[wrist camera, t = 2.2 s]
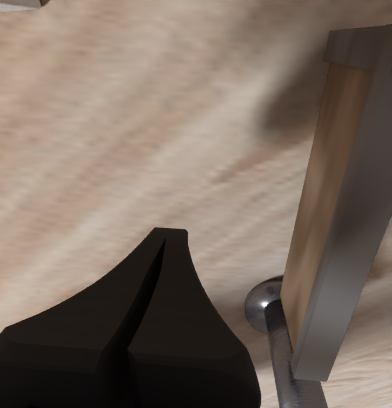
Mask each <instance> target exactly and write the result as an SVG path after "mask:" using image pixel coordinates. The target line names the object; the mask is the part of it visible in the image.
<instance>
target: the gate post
mask: <svg viewBox="0 0 392 408" xmlns="http://www.w3.org/2000/svg"><path fill="white" fill-rule="evenodd" d="M282 282H283V279H282V278H281V279H272V280H268V281H265V282H263V283H261V284H259V285H257V286H256V287H255V288H253V289H252V290H251V291H250V293H249V294H248V296H247V298H246V301H245V312H246V317H247V320H248V322H249V323H250V324H251V325H252V326H253V327H254V328H255V329H257V330H258V331H260V332H262V333H265V334H268V340H269V346H270V352H271V358H272V365H273V371H274V377H275V383H276V389H277V395H278V401H279V407H280V408H328V406H327V403H326V400H325V396H324V393H323V389H322V386H321V383H320V381H313V380H301V379H294V377H293V373H292V368H291V361H292V357H293V354H294V352H293V348H292V344H291V339H290V335H289V331H288V327H287V323H286V318H285V314H284V310H283V306H282V301H281V297H280V291H281V286H282Z"/></svg>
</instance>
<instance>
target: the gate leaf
mask: <svg viewBox="0 0 392 408" xmlns="http://www.w3.org/2000/svg"><path fill="white" fill-rule="evenodd" d="M324 61H326V62H331V63H330V67H329V72H328V76H327V81H326V86H325V90H324V95H323V99H322V104H321V108H320V113H319V117H318V122H317V127H316V131H315V136H314V140H313V145H312V149H311V154H310V158H309V163H308V168H307V172H306V177H305V181H304V186H303V190H302V195H301V200H300V204H299V209H298V213H297V218H296V222H295V227H294V231H293V236H292V241H291V245H290V250H289V254H288V259H287V263H286V268H285V272H284V277H283V282H282V286H281V291H280V297H281V301H282V306H283V310H284V314H285V318H286V323H287V327H288V331H289V335H290V339H291V344H292V348H293V352H294V354H293V357H292V361H291V368H292V373H293V377H294V379H301V380H313V381H324V382H327V380H328V377H329V374H330V372H331V369H332V367H333V364H334V361H335V359H336V356H337V354H338V351H339V349H340V346H341V343H342V341H343V338H344V336H345V333H346V331H347V328H348V325H349V323H350V320H351V318H352V315H353V312H354V310H355V307H356V305H357V302H358V300H359V297H360V294H361V292H362V289H363V287H364V284H365V282H366V279H367V276H368V274H369V271H370V269H371V266H372V263H373V261H374V258H375V256H376V253H377V251H378V248H379V245H380V243H381V240H382V238H383V235H384V233H385V230H386V227H387V225H388V222H389V220H390V217H391V214H392V24H390V25H385V26H375V27H365V28H354V29H344V30H334V31H330V32H329V37H328V42H327V47H326V51H325V56H324Z"/></svg>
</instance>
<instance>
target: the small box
mask: <svg viewBox="0 0 392 408" xmlns="http://www.w3.org/2000/svg"><path fill="white" fill-rule="evenodd" d="M40 8H41V4H40V1H39V0H0V12H5V11H18V10H33V9H40Z"/></svg>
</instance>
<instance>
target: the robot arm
mask: <svg viewBox="0 0 392 408" xmlns="http://www.w3.org/2000/svg"><path fill="white" fill-rule="evenodd" d="M260 406H261V391H260V387H259V382H258V378H257V375H256V372H255V369H254V366H253V363H252V360H251V358H250V355H249V352H248V350H247V348H246V347H245V346H244V345H243V344H242V343H241V341H240V340H239V339H238V338H237V337H236V336H235V335H234V333H233V332H232V331H231V330H230V328H229V327H228V326H227V325H226V323H225V322H224V321H223V319H222V318H221V316H220V315H219V313H218V312H217V310H216V309H215V307H214V306H213V304H212V303H211V301H210V299H209V298H208V296H207V294H206V292H205V290H204V288H203V287H202V284H201V282H200V280H199V278H198V276H197V273H196V270H195V268H194V265H193V262H192V259H191V255H190V252H189V247H188V232H187V231H186V230H185V229H173V228H157V227H155V228H154V229H153V230H152V231H151V232H150V233H149V234H148V236H147V237H146V238H145V239H144V240H143V241H142V242H141V243H140V244H139V245H138V246H137V247H136V248H135V249H134V250H133V251H132V252H131V253H130V254H129V255H128V256H127V257H126V258H125V259H124V260H123V261H121V262H120V263H119V264H118V265H117V266H116V267H115V268H113V269H112V270H111V271H110V272H109V273H107V274H106V275H105V276H103V277H102V278H101V279H99V280H98V281H96V282H95V283H94V284H92V285H90V286H89V287H87V288H86V289H84V290H82V291H81V292H79V293H77V294H76V295H74V296H72V297H71V298H69V299H67V300H65V301H63V302H61V303H60V304H58V305H56V306H54V307H52V308H50V309H48V310H46V311H43V312H41V313H39V314H37V315H34V316H32V317H30V318H27V319H25V320H22V321H20V322H18V323H15V324H13V325H10V326H8V327H5V329H4V330H3V331H2V332H1V333H0V408H260Z"/></svg>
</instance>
